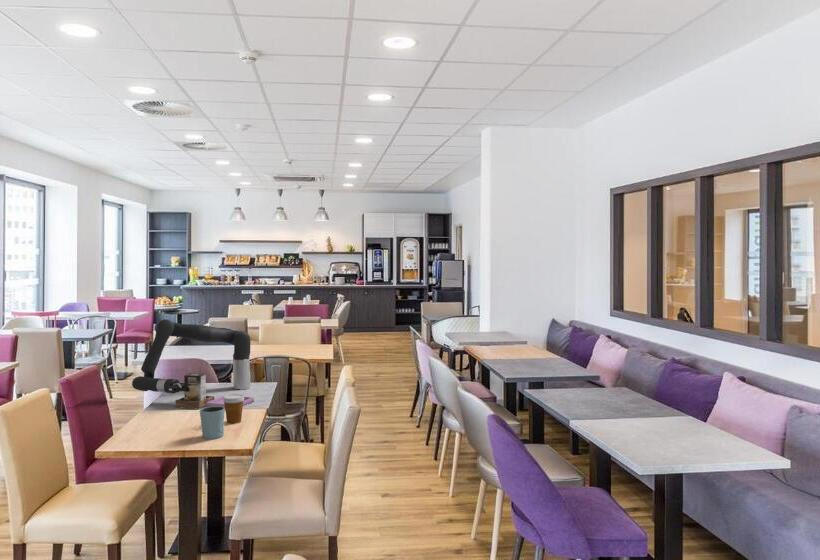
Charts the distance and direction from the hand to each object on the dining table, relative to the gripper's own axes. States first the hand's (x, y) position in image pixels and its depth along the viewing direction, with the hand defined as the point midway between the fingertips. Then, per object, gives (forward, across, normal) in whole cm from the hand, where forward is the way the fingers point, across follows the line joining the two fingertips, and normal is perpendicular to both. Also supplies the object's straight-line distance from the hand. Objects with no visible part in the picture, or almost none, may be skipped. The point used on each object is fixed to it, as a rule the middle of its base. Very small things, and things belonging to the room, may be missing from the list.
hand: (194, 387), depth 307 cm
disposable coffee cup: (+38, -21, +9) cm, 44 cm away
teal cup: (+42, -43, +9) cm, 60 cm away
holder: (0, 0, +9) cm, 9 cm away
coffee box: (0, 0, +9) cm, 9 cm away
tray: (+17, +6, +9) cm, 20 cm away
